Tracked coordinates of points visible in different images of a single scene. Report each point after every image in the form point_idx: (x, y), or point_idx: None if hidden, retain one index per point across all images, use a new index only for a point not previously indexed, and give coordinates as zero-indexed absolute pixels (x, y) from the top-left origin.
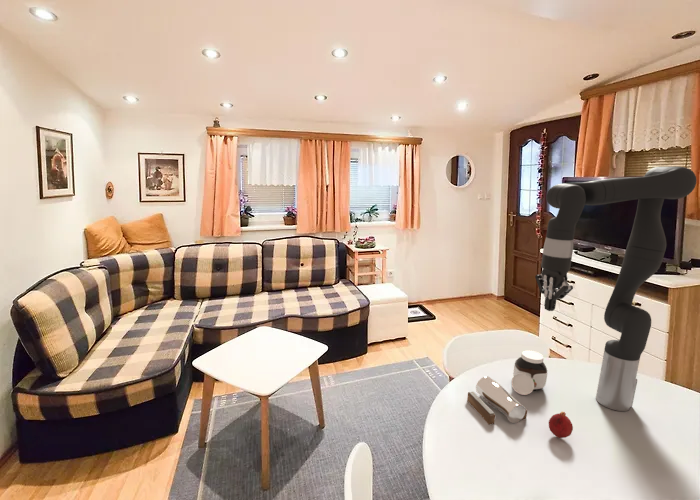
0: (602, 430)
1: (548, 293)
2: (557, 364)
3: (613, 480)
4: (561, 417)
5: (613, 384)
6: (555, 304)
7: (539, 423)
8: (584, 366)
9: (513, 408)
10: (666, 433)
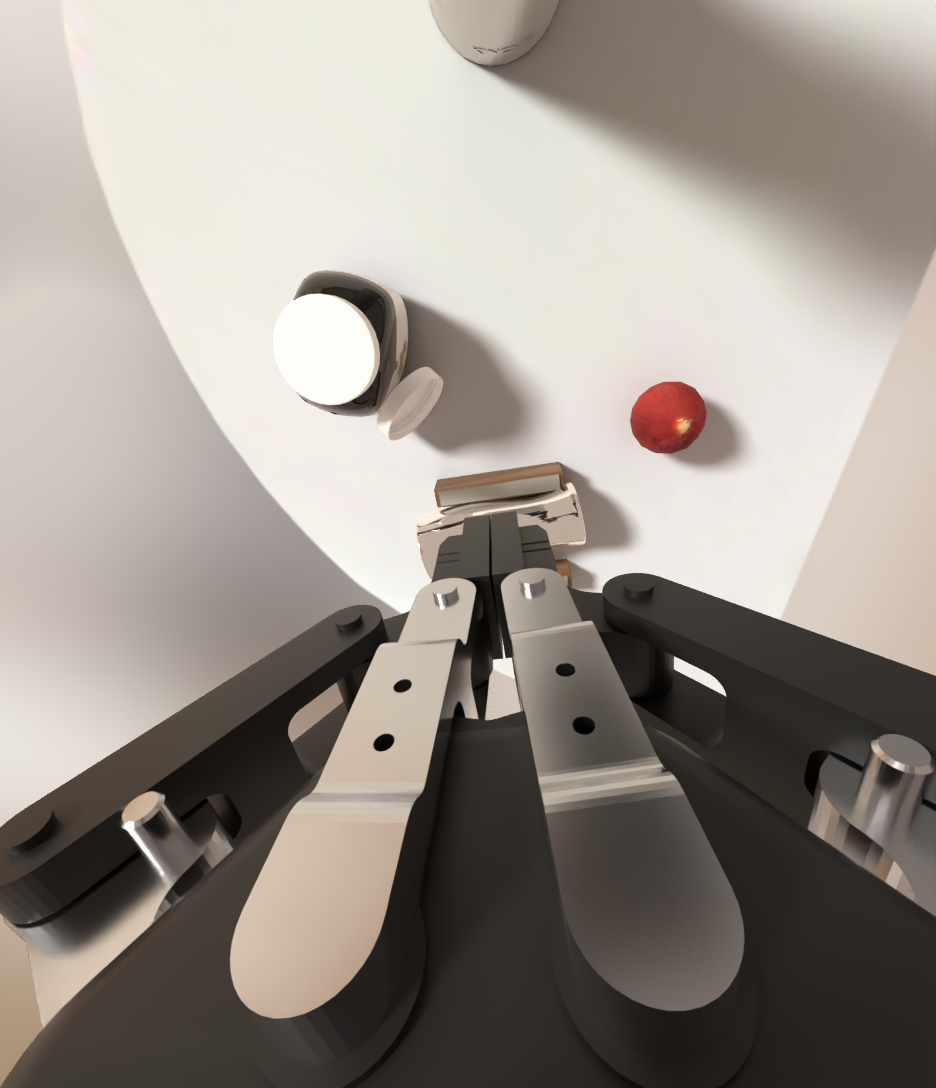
0: (654, 213)
1: (488, 697)
2: (137, 37)
3: (839, 361)
4: (689, 435)
5: None
6: (552, 554)
7: (582, 431)
8: None
9: (585, 539)
10: None
